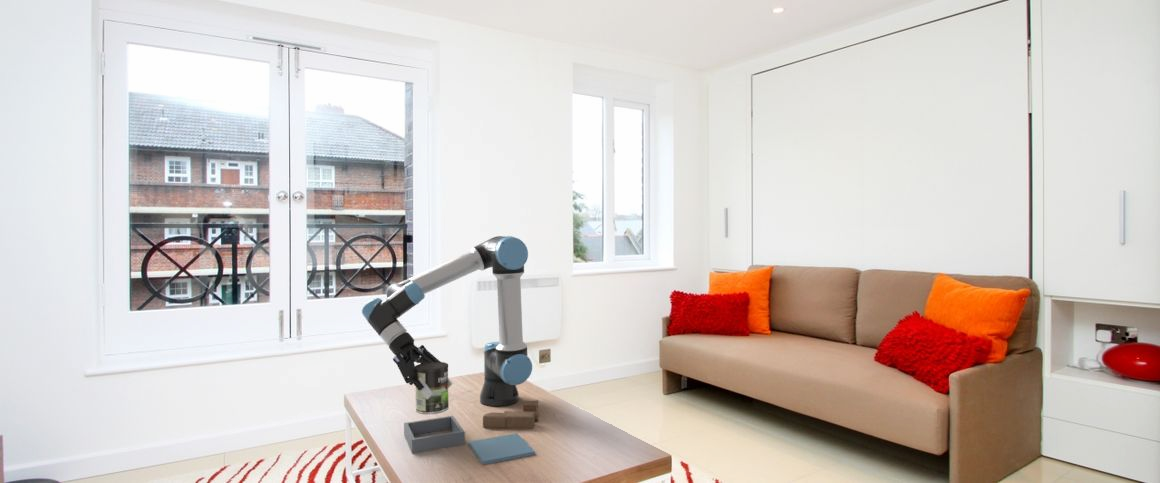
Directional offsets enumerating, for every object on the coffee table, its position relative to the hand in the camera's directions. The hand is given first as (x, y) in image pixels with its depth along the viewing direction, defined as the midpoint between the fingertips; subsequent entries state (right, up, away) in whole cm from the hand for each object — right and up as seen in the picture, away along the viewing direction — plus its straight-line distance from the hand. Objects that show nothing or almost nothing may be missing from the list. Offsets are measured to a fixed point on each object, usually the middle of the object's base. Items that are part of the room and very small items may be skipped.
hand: (440, 391), depth 172 cm
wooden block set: (+21, -16, +20) cm, 33 cm away
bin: (-2, -16, +2) cm, 16 cm away
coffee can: (-3, -6, +1) cm, 7 cm away
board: (+20, -16, -6) cm, 27 cm away
